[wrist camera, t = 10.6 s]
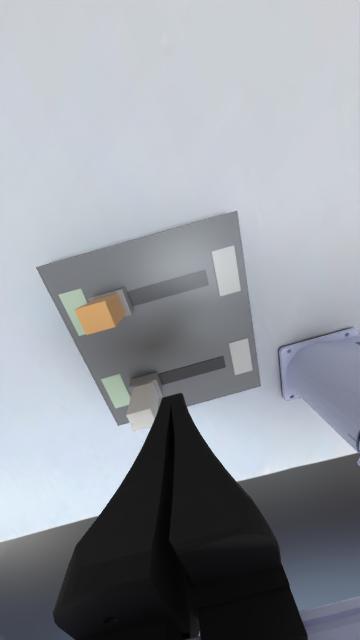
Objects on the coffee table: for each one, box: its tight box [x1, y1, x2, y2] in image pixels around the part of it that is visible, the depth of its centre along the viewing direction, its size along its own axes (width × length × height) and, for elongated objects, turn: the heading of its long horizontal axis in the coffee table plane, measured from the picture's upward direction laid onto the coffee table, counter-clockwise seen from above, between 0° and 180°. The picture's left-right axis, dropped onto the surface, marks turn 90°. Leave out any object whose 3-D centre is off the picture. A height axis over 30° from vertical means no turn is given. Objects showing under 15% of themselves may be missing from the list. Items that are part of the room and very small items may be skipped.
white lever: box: [126, 372, 163, 431], centre depth 16 cm, size 3×2×4 cm
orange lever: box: [74, 288, 134, 335], centre depth 13 cm, size 3×2×4 cm
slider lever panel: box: [36, 211, 261, 426], centre depth 18 cm, size 17×18×2 cm
